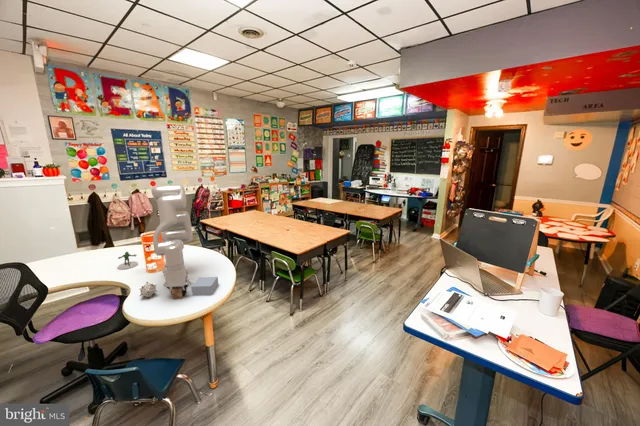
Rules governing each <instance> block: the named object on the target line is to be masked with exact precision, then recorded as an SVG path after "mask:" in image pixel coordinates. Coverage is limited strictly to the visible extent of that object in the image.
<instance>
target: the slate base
mask: <svg viewBox="0 0 640 426" xmlns="http://www.w3.org/2000/svg"><path fill="white" fill-rule="evenodd" d="M219 285H220V284H219V277H218V276H200V277H198V278H197V279H196V280H195V282H194V283H193V284H192V285H190V286H191V293H192V295H191V296H195V297H196V296H213V294H214V293H215V291H216V290H217V288H218V287H219Z"/></svg>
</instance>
